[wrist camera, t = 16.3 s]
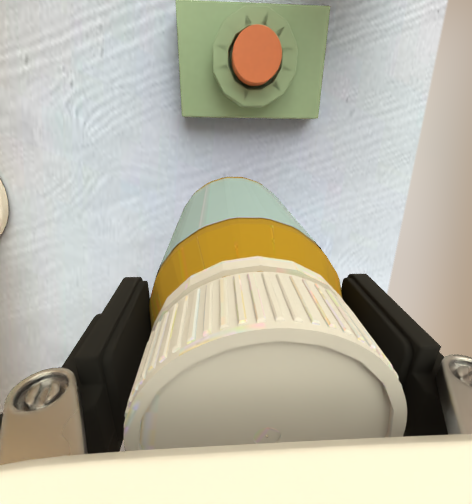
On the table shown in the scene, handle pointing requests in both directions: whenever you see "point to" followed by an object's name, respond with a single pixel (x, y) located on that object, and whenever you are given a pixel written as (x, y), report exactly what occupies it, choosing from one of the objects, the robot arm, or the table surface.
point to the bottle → (254, 336)
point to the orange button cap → (256, 55)
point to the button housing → (220, 59)
